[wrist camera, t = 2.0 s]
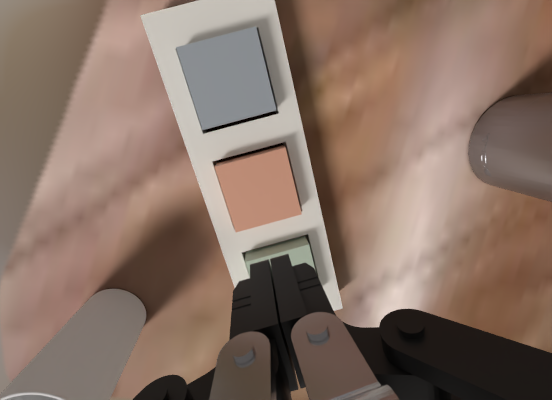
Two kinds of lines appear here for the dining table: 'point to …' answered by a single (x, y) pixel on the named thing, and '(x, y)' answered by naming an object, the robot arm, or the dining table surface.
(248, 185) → the terracotta button
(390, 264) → the dining table surface
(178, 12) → the button panel
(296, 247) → the green button
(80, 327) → the mug
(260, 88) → the grey button
